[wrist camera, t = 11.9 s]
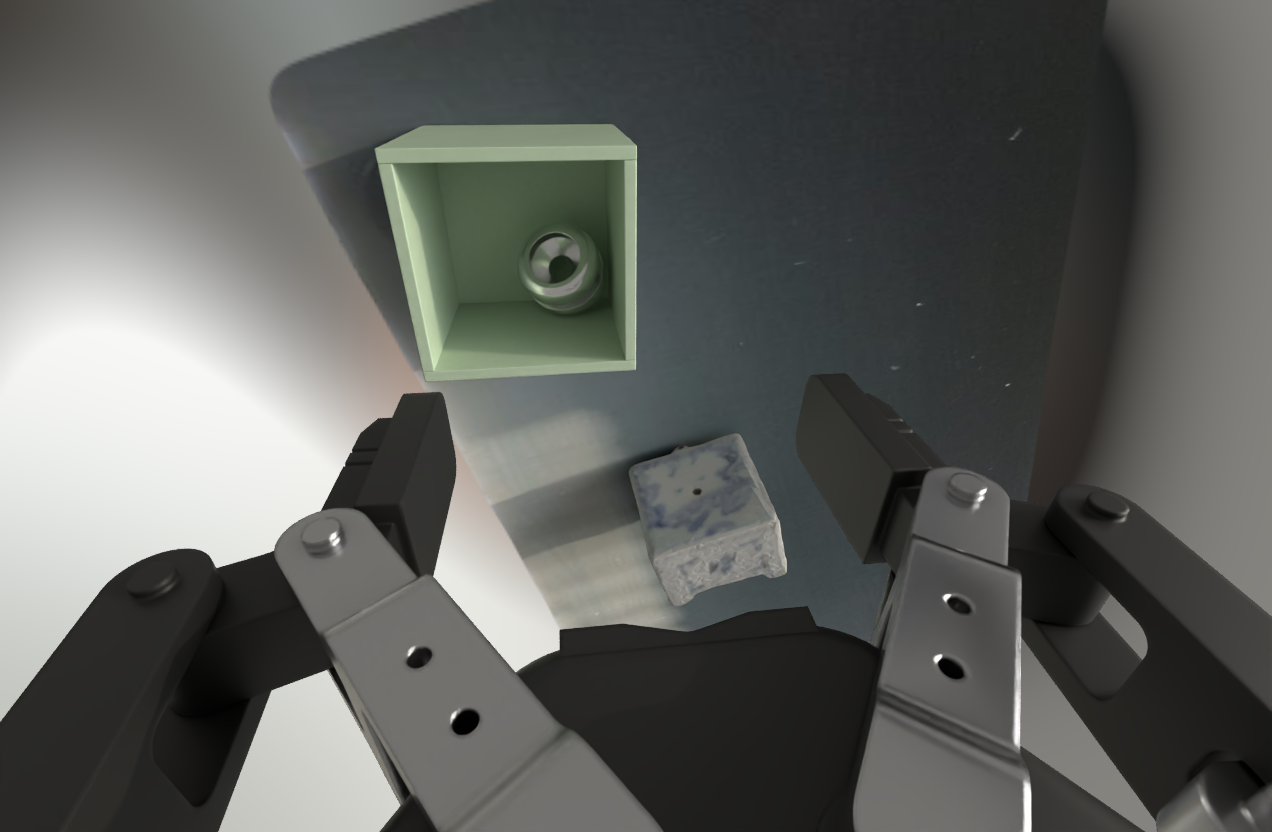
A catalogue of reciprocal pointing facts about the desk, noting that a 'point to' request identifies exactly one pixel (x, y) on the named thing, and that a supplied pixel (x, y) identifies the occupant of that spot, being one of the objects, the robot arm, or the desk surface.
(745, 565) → the incense holder
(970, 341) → the desk surface
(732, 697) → the robot arm
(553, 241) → the metal grooved wheel
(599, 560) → the desk surface
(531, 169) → the waste bin
